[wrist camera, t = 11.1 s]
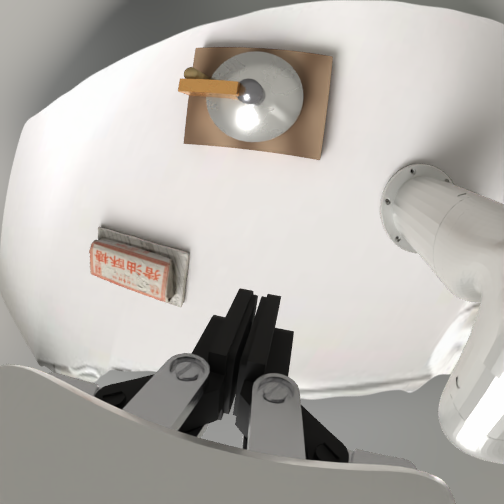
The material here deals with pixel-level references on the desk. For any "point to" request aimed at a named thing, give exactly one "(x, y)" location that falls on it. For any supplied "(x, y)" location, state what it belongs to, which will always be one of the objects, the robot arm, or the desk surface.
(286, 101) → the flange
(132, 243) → the packaged product
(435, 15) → the desk surface
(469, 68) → the desk surface
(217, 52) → the board
